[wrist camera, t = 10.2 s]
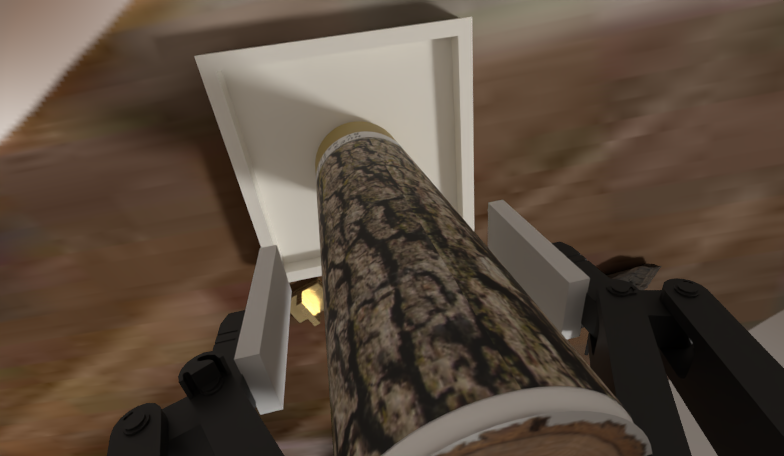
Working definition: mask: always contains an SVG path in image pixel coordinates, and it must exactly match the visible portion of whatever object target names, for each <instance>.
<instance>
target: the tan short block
mask: <svg viewBox="0 0 784 456" xmlns="http://www.w3.org/2000/svg"><path fill="white" fill-rule="evenodd" d="M322 310H324V300H323V284H322V282H321V281H320V280H319V278H316V279H314V280H312V281H310V282H309V283H307V284H305V285H303V286H302V287H300V288H298V289H296V290H294V291H293V292H292V293H291V307H290V313H291V314H292V315H293V316H294V317H295V318H296V319H297V320H298V321H299V323H301V322H303V321H304V320H306V319H309V320H310V321H311V322H312V324H313V325H314V326H316V325H318V324H320V312H321V311H322Z"/></svg>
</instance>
